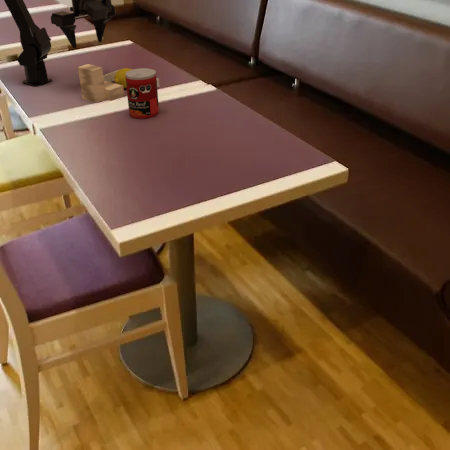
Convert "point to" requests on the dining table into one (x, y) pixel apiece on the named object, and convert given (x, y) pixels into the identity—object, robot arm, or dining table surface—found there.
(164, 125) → the dining table surface
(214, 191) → the dining table surface
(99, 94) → the stepped wooden corner piece
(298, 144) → the dining table surface
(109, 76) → the corral
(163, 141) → the dining table surface
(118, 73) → the lemon
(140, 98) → the canned food
